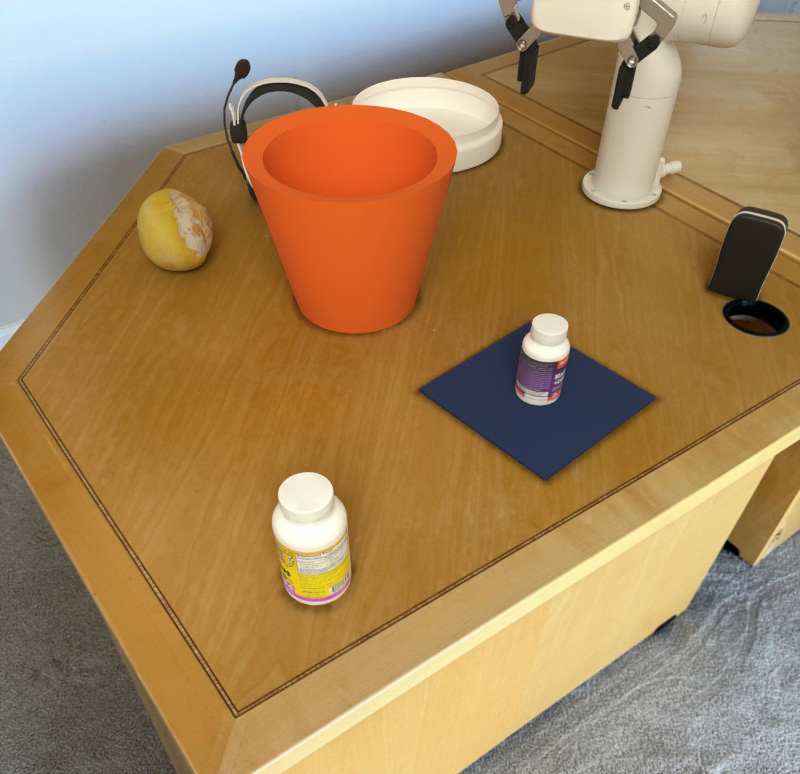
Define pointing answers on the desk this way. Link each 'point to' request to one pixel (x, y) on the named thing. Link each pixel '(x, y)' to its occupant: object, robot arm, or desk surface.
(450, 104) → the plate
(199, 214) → the fruit
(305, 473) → the supplement bottle
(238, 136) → the headset
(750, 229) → the battery charger
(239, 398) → the desk surface
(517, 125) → the desk surface
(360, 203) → the flowerpot
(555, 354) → the pill bottle
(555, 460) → the mat
